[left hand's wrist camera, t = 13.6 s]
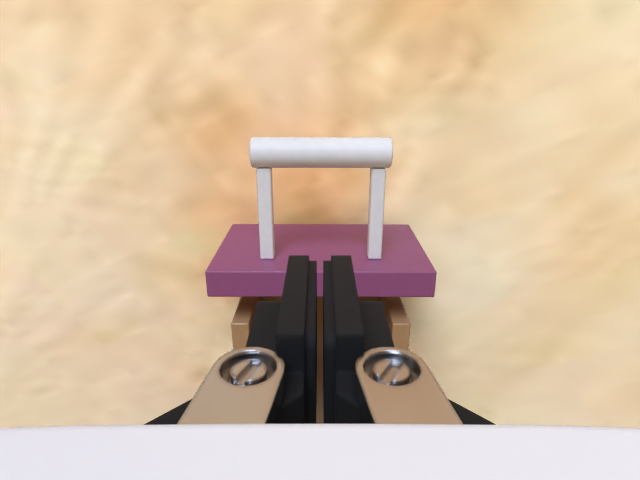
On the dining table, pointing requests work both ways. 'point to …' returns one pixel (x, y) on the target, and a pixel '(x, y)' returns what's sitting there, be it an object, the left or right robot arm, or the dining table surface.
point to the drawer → (321, 242)
